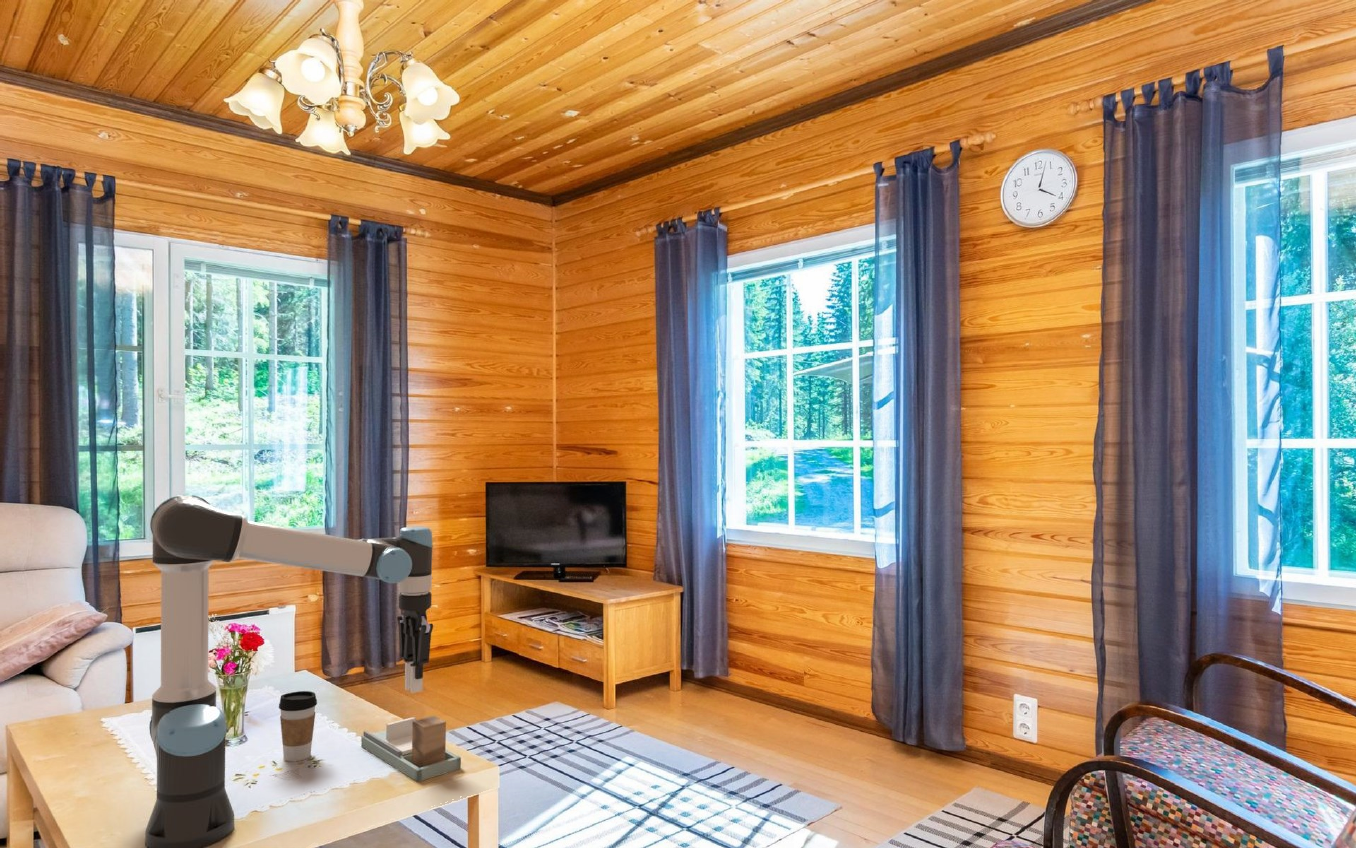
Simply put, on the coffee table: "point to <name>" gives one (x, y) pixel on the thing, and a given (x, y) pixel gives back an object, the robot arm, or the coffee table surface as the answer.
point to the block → (428, 741)
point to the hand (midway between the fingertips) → (413, 690)
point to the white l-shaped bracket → (400, 735)
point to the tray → (407, 758)
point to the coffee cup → (297, 724)
